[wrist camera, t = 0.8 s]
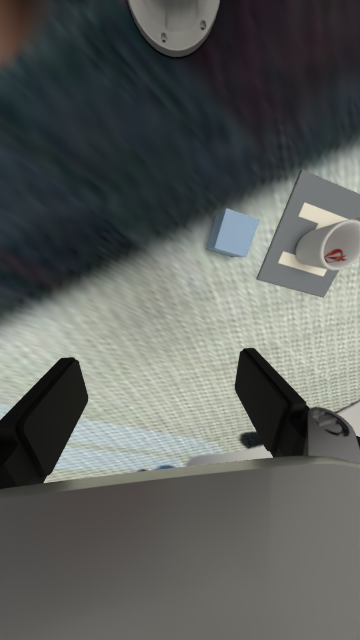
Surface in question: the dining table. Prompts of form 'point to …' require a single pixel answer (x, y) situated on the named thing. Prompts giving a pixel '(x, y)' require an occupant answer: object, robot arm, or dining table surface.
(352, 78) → the dining table surface
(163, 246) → the dining table surface
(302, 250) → the cup
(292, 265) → the letter mat
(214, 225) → the cube
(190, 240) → the dining table surface
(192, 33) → the robot arm
